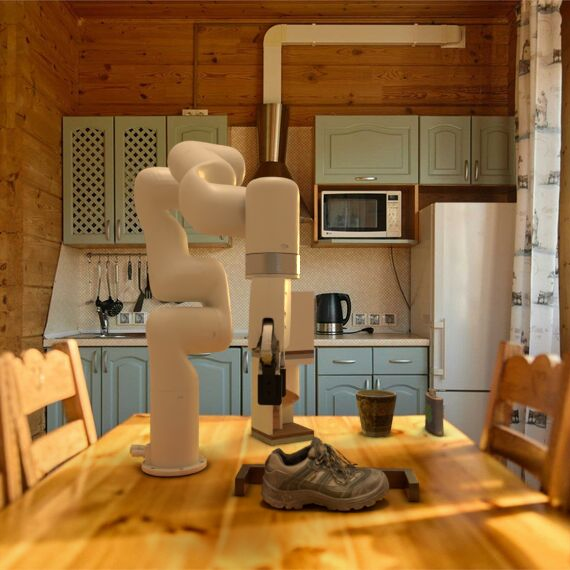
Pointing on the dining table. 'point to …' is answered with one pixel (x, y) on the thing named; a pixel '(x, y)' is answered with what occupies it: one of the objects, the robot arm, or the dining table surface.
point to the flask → (433, 413)
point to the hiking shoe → (320, 480)
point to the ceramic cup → (376, 411)
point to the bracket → (394, 475)
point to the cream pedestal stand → (279, 418)
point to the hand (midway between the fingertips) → (272, 399)
